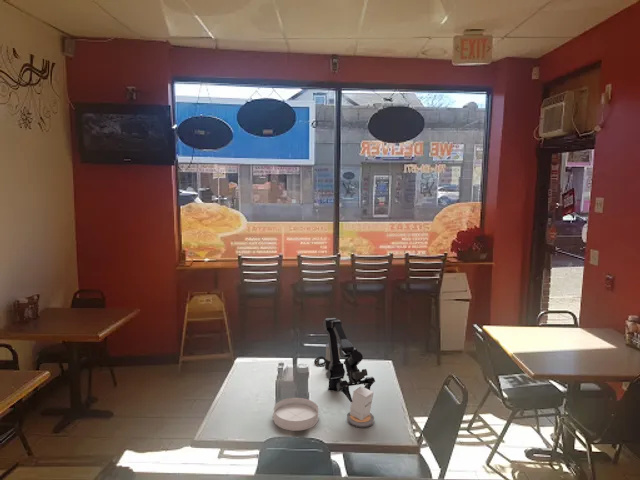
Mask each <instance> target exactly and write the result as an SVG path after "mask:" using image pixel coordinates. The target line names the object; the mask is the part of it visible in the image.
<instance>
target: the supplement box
mask: <svg viewBox="0 0 640 480" xmlns="http://www.w3.org/2000/svg"><path fill="white" fill-rule="evenodd" d="M364 387H365V386H362V385H361V386H359V387H357V388H356V389H355V390H353V392H352V396H351V398H352V402H350V403H351V404H350V411H349V412H350V414H351V415H352V416H354V417H356V418H358V419H360V420H363V419H364V418H366V417H367V416H368V415H370V413H371V408H372V403H373V397H374V391H372V390H371V389H370V390H369V389H367V388H364Z"/></svg>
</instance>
